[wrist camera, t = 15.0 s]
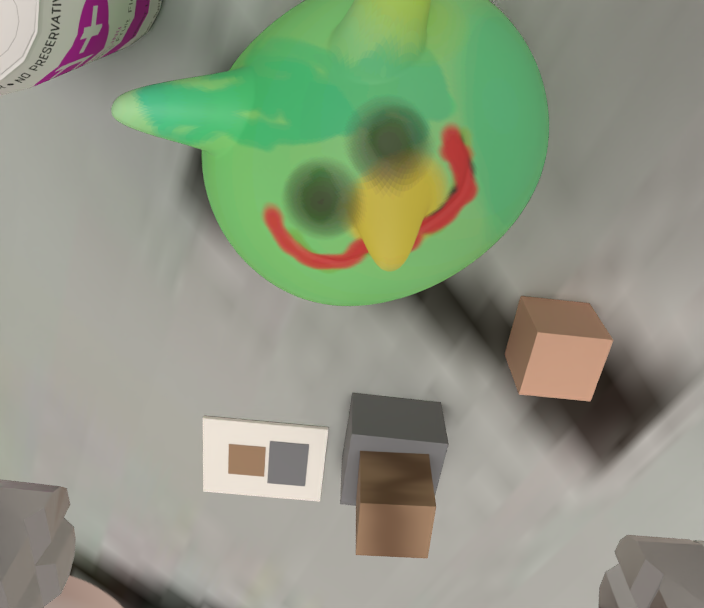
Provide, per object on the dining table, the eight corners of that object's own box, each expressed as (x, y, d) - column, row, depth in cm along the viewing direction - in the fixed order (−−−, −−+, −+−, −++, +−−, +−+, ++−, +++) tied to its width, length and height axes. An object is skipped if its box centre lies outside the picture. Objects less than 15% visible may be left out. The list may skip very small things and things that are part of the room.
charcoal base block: (440, 401, 50) (448, 444, 46) (424, 466, 54) (430, 513, 49) (352, 391, 50) (351, 434, 45) (341, 458, 53) (340, 504, 49)
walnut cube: (428, 454, 46) (436, 506, 42) (421, 503, 49) (427, 558, 44) (360, 450, 46) (360, 503, 42) (356, 500, 49) (355, 554, 44)
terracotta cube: (588, 302, 46) (613, 340, 41) (569, 360, 48) (590, 401, 44) (520, 295, 45) (537, 332, 41) (504, 353, 48) (518, 394, 43)
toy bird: (318, 284, 45) (302, 418, 32) (163, 70, 38) (64, 132, 25) (556, 152, 40) (648, 247, 27) (429, -120, 33) (473, -162, 21)
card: (328, 427, 51) (328, 430, 51) (320, 498, 55) (319, 502, 55) (203, 416, 51) (202, 419, 50) (204, 488, 55) (203, 492, 54)
